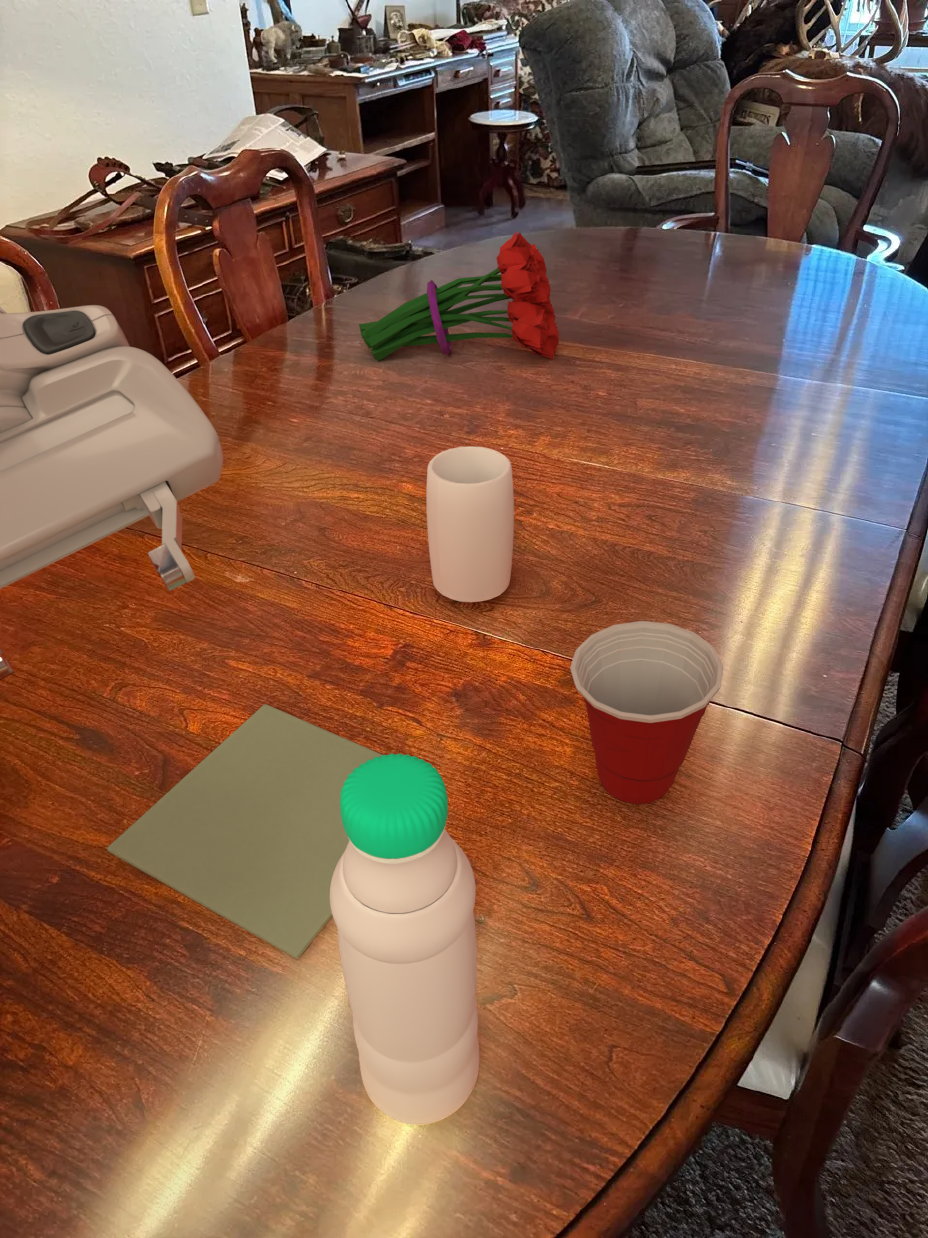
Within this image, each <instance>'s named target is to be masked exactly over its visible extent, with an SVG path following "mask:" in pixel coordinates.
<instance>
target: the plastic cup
mask: <svg viewBox="0 0 928 1238" xmlns="http://www.w3.org/2000/svg"><path fill="white" fill-rule="evenodd" d="M569 669H570V672H571V676H572V679H573V682H574V686H575V688H576V690H577V692H578V693H579V694H580V695H581V696H582V697H583V699H584V703H585V706H586V713H587V719H588V727H589V732H590V739H591V744H592V749H593V752H594V758H595V767H596V772H597V776H598V779H599V781H600V785H601V786H602V788H603V789H604V790H605V791H606V792H607V793H608V794H609V795H610V796H612V797H614V798H615V799H617V800H619V801H621V802H623V803H627V804H634V805H642V804H643V805H645V804H651V803H654V802H656V801H657V800H660V799H663V797H664V796H665V794H666V793H667V792H668V791H669V790H670V788H671V787H672V785H674V782H675V780H676V777H677V775H678V773H679V770H680V768H681V766H682V765H683V764H684V762H685V759H686V757H687V754H688V752H689V749H690V747H691V744H692V742H693V740H694V737H695V735H696V732H697V730H698V727H699V725H700V723H701V720H702V718H703V717H704V715H705V713H706V710H707V707H708V706H709V705H710V702H711V701H712V699H713V698H714V697H715V696H716V695H717V693H718V692H719V691H720V689H721V687H722V683H723V682H722V681H723V675H724V663H723V662H722V660H721V658H720V656H719V654H718V652H717V650H716V648H715V647H714V646H713V645H712V644H710V643H709V642H708V641H706V640H705V639H704V638H702V637H701V636H700V635H699V634H698V633H696V632H694V631H691V630H688V629H686V628H683V627H680V626H679V625H678V626H677V625H675V624H672V623H668V622H667V623H666V622H657V621H656V622H655V621H647V620H639V621H632V622H624V623H618V624H613V625H611V626H608V627H606V628H603V629H601V630H599V631H597V632H594V633H592V634H591V635H589V637H587V638H586V639H585V640H584V641H583V642H582V643H581V644H580V645H579V646H578V647H577V648H576V649H575V652H574V655H573V658H572V661H571V663H570V667H569Z"/></svg>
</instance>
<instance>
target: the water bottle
mask: <svg viewBox="0 0 928 1238" xmlns="http://www.w3.org/2000/svg"><path fill="white" fill-rule="evenodd" d="M446 787H447V786H446V784H445V782H444V780H443V777H442V775H441V774H440V773H439V771H438V768H436V767H435V766H433V764H432V763H431V762H427V761H426V760H424V759H423V758H419V757H417V756H416V755H413V756H411V755H410V754H408V753H407V754H403V753H401V752H400V753H397V754H396V753H394V752H393V753H392V752H391V753H389V754H382V756H381V757H375V758H373V759H372V760H367V761H366V763H362V764H360V765H359V767H357V768H355V769H354V770H353V772H352V773H350V774H349V775H348V777H347V780H345V781H344V784H343V787H342V789H341V794H340V809H341V818H342V823H343V826H344V829H345V832H346V834H347V836H348V839H349V843H348V845H347V847H346V850H345V851H344V853H343V855H342V856H341V858H340V859H339V861H338V863H337V865H336V868H335V870H334V873H333V876H332V880H331V885H330V906H331V911H332V915H333V916H332V918H333V921H334V924H335V926H336V928H337V941H338V949H339V956H340V963H341V969H342V974H343V981H344V986H345V989H346V994H347V999H348V1002H349V1007H350V1009H351V1012H352V1028H353V1036H354V1040H355V1044H356V1047H357V1051H358V1061H359V1071H360V1075H361V1081H362V1084H363V1087H364V1089H365V1093H366V1094H367V1096H368V1098H369V1099H370V1100H371V1102H372V1104H373V1105H374V1106H375V1107H376V1108H377V1109H378V1111H380V1112H381V1113H382V1114H383V1115H385V1116H387V1117H388V1118H389V1119H392V1120H393V1121H397V1122H399V1123H401V1124H404V1125H414V1126H423V1125H430V1124H434V1123H437V1122H440V1121H443V1120H444V1119H447V1118H448V1117H450V1116H451V1115H453V1114H454V1113H456V1112H458V1110H459V1109H460V1108H461V1107H462V1106H463V1105H464V1104H465V1103H466V1101H467V1100H468V1099H469V1098H470V1097H471V1094H472V1092H473V1090H474V1089H475V1086H476V1083H477V1080H478V1077H479V1071H480V1061H481V1060H480V1059H481V1057H480V1044H479V1036H478V1032H479V1010H478V1002H477V998H476V995H477V982H478V980H477V978H478V951H477V950H478V949H477V930H476V922H475V913H474V912H475V911H474V908H475V903H476V894H477V890H476V888H477V887H476V878H475V874H474V870H473V867H472V865H471V863H470V860H469V858H468V857H467V855H466V853H465V852H464V851H463V849H462V848H461V846H460V845H459V844H458V843H457V842H456V841H455V840H454V839H453V838H452V837H451V836H450V834H449V833H448V831H447V830H446V824H447V821H448V814H449V813H448V812H449V799H448V798H449V797H448V793H447V788H446Z"/></svg>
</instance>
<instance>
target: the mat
mask: <svg viewBox="0 0 928 1238" xmlns="http://www.w3.org/2000/svg"><path fill="white" fill-rule="evenodd" d="M382 755H383V754H382V753H380V752H377V751H375V750H372V749H371V748H368V747H365V746H363V745H361V744H358V743H356V742H354V741H352V740H350V739H347V738H345V737H342V736H340V735H338V734H336V733H333V732H331V731H330V730H327V729H324V728H322V727H319V726H317V725H315V724H312V723H310V722H308V721H305V720H303V719H301V718H298V717H296V716H294V715H292V714H290V713H287V712H285V711H283V710H280V709H278V708H275V707H273V706H271V705H268V704H266V703H264V704H262V705H261V706H260V708H258V709H257V710H256V711H255V712H254V713H253V714H252V715H251V716H250V717H248V718H247V719H246V720H245V721H244V722H243V723H242V724H241V725H240V726H238V728H237V729H235V730H234V731H233V732H232V733H231V734H230V735H229V736H228V737H227V738H226V739H224V741H222V742H221V743H220V744H219V745H218V746H217V747H216V748H214V749H213V750H212V751H211V752H210V753H209V754H208V755H207V756H206V757H205V758H203V759H202V760H201V761H200V762H199V763H198V764H197V765H196V766H195V767H194V768H193V769H191V770H190V771H189V772H188V773H187V774H186V775H185V776H184V777H183V778H181V780H180V781H178V782H177V783H176V784H175V785H174V786H173V787H172V788H171V789H170V790H169V791H167V792H166V793H165V794H164V795H163V796H162V797H161V798H160V799H158V801H156V802H155V803H154V804H153V805H152V806H151V807H150V808H149V809H148V810H146V811H145V812H144V813H143V814H142V815H141V816H140V817H139V818H138V819H137V820H136V821H134V823H132V824H131V825H130V826H129V827H128V828H127V829H126V830H125V831H123V832H122V833H121V834H120V835H119V836H118V837H117V838H116V839H115V840H114V841H113V842H112V843H111V844H109V846H107V847H106V850H107V852H108V853H110V854H112V855H114V856H115V857H117V858H119V860H122V861H124V862H125V863H127V864H129V865H131V866H133V867H134V868H136V869H138V870H139V871H141V872H143V873H144V874H147V876H150V877H152V878H153V879H155V880H157V881H159V882H161V883H162V884H164V885H166V886H167V887H169V888H171V889H173V890H175V891H176V892H178V893H180V894H181V895H183V896H185V897H187V898H189V899H190V900H192V901H193V902H196V904H197V903H198V904H199V905H200V906H202V907H204V908H205V909H208V910H210V911H211V912H212V913H214V914H217V915H218V916H220V917H222V918H223V919H226V920H227V921H229V922H231V923H232V924H234V925H236V926H238V927H240V928H241V929H242V930H245V931H247V932H248V933H249V934H252V935H253V936H255V937H257V938H259V939H261V940H262V941H264V942H266V943H268V944H269V945H271V946H272V947H274V948H275V949H278V950H280V951H282V952H284V953H285V954H287V955H288V956H290V957H292V958H294V959H296V960H299V959H300V958H301V957H302V955H303V954H304V952H305V951H306V950H307V949H308V948H309V946H310V945H311V944H312V942H313V941H314V940H315V939H316V938H317V937H318V935H319V934H320V933H321V931H322V930H323V929H324V928H325V926H326V925H327V924H328V923H329V922H330V920H331V919H332V918H333V915H332V911H331V906H330V885H331V880H332V876H333V873H334V870H335V868H336V865H337V863H338V861H339V859H340V858H341V856H342V855H343V853H344V851H345V850H346V847H347V845H348V843H349V839H348V836H347V834H346V832H345V829H344V826H343V823H342V818H341V809H340V794H341V789H342V787H343V784H344V781H345V780H347V777H348V775H349V774H350V773H352V772H353V770H354V769H355V768H357V767H359V765H360V764H362V763H366V761H367V760H372V759H373V758H375V757H381V756H382Z"/></svg>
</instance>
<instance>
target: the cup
mask: <svg viewBox="0 0 928 1238" xmlns="http://www.w3.org/2000/svg"><path fill="white" fill-rule="evenodd" d="M425 490H426V491H425V493H426V494H425V495H426V499H425V500H426V503H425V504H426V526H427V527H426V528H427V541H428V552H429V553H428V554H429V560H430V571H431V577H432V584H433V587H434V588H435V590H436V591H437V592H438V593H440V594H441V595H442V596H444V597H446V598H449V599H450V600H453V601H456V602H460V603H478V602H479V603H480V602H484V601H488V600H492V599H495V598H496V597H499V596H500V595H502V594H503V593H504V592H505V591H506V590H507V589H508V587H509V586H510V582H511V575H512V565H513V551H514V529H515V496H514V480H513V468H512V462H511V460H510V459H509V458H508V457H507V456H506V455H504V454H503V453H501V452H499V451H497V450H496V449H492V448H488V447H484V446H473V445H471V446H469V445H468V446H458V447H454V448H453V447H452V448H449V449H445V450H443V451H441V452H439V453H437V454H436V455H434V456H433V458H431V459H430V461H429V462H428V465H427V471H426V489H425Z"/></svg>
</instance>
